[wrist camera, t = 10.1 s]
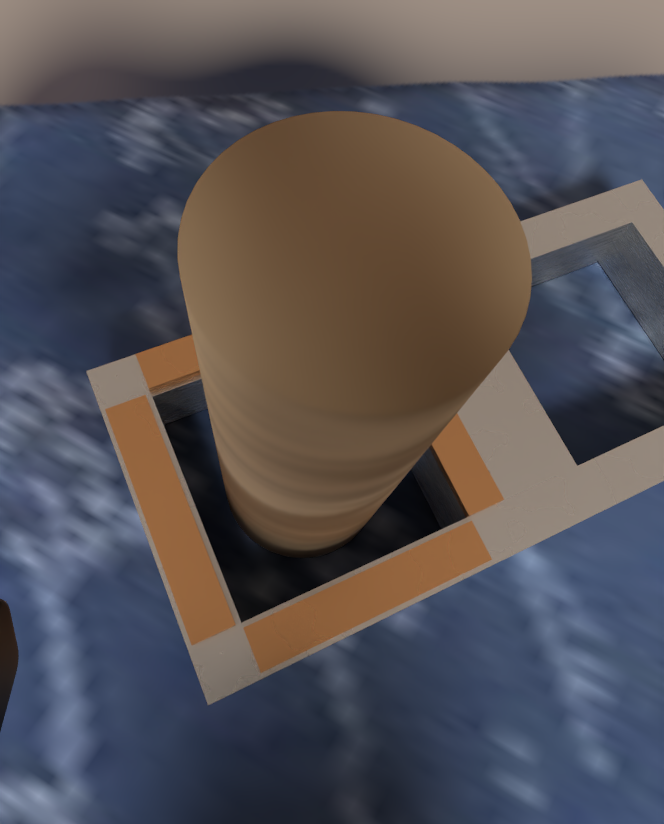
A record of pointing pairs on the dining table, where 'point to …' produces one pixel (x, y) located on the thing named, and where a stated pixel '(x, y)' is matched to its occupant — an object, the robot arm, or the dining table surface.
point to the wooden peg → (342, 313)
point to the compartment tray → (435, 470)
